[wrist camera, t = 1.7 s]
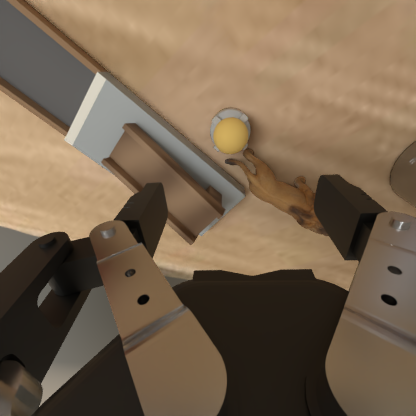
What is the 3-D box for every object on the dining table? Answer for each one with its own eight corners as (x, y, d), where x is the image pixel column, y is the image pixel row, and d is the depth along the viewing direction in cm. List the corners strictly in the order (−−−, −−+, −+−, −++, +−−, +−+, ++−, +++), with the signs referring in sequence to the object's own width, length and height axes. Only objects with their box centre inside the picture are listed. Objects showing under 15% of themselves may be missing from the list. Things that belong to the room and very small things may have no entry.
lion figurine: (336, 178, 29) (377, 215, 21) (313, 210, 32) (342, 253, 24) (232, 140, 27) (235, 167, 20) (217, 178, 30) (215, 214, 22)
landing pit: (108, 71, 24) (89, 71, 21) (75, 135, 28) (55, 143, 25) (-31, -47, 20) (-83, -71, 17) (-46, 47, 24) (-91, 43, 20)
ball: (253, 130, 24) (257, 139, 21) (230, 154, 26) (231, 165, 23) (229, 107, 23) (230, 112, 20) (207, 133, 25) (204, 142, 21)
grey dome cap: (257, 125, 26) (261, 131, 23) (230, 154, 28) (231, 163, 25) (228, 96, 25) (229, 99, 22) (202, 129, 27) (199, 135, 24)
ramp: (225, 195, 29) (225, 218, 24) (198, 221, 31) (193, 247, 26) (131, 119, 24) (110, 130, 20) (108, 156, 27) (84, 174, 22)
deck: (244, 187, 30) (245, 196, 28) (202, 226, 34) (201, 236, 32) (108, 71, 24) (97, 71, 22) (75, 135, 28) (64, 140, 26)
